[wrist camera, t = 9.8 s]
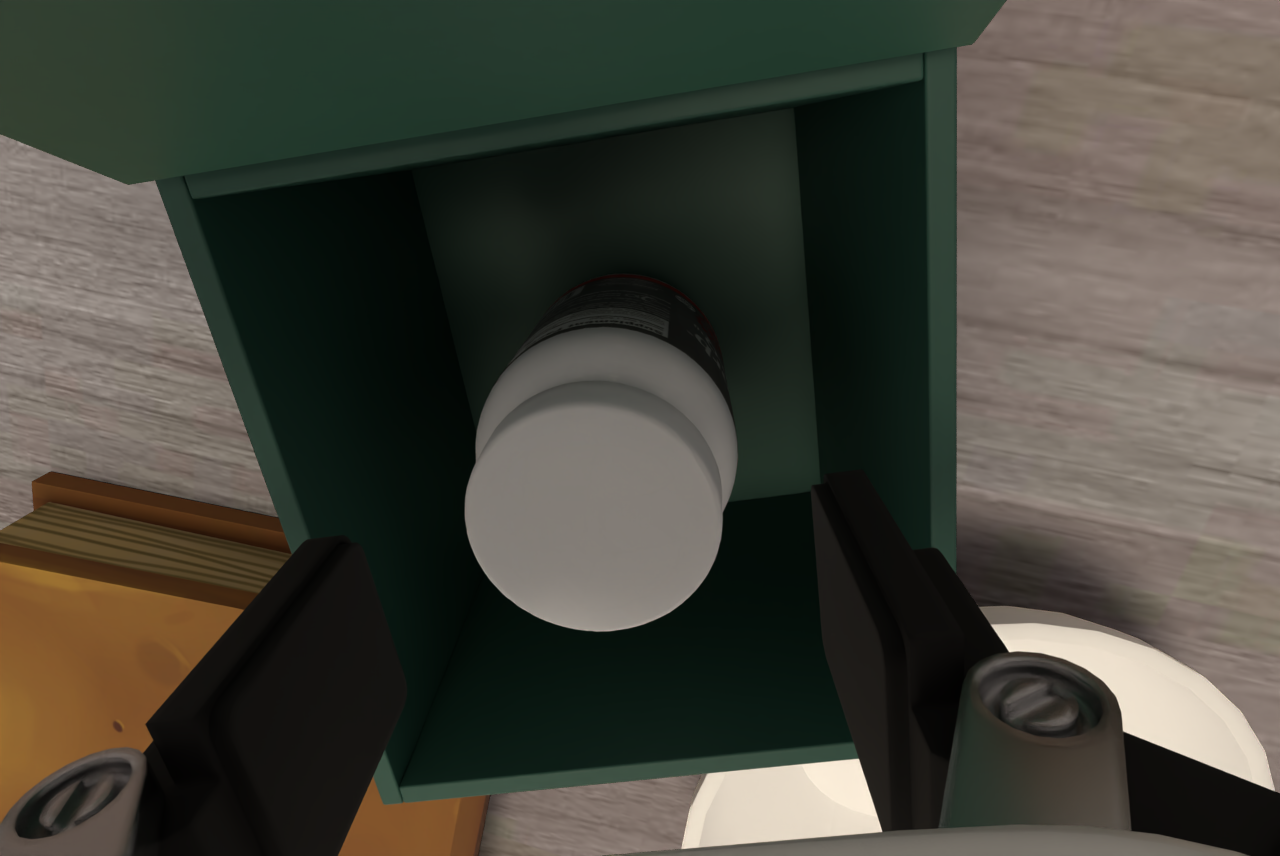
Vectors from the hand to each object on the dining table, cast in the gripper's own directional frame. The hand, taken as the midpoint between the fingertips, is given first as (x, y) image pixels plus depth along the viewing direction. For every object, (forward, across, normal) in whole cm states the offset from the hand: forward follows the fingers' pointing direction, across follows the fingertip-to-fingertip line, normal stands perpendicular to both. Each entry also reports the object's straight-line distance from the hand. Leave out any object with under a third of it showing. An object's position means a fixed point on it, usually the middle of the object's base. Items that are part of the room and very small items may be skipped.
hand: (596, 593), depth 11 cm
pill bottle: (+12, 0, 0) cm, 12 cm away
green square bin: (+16, 0, 0) cm, 16 cm away
